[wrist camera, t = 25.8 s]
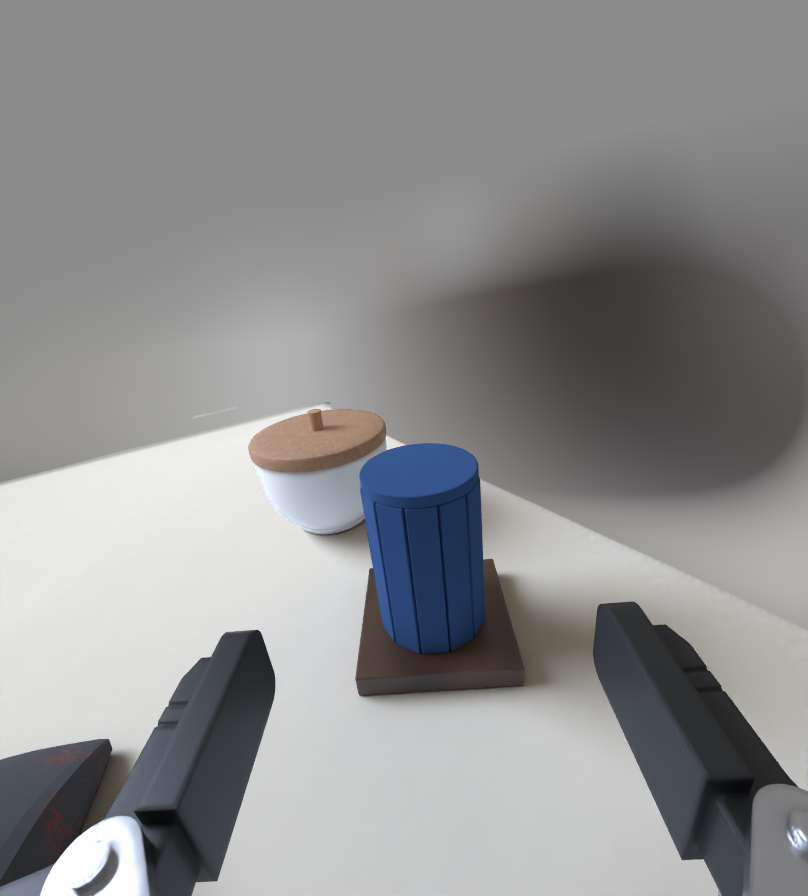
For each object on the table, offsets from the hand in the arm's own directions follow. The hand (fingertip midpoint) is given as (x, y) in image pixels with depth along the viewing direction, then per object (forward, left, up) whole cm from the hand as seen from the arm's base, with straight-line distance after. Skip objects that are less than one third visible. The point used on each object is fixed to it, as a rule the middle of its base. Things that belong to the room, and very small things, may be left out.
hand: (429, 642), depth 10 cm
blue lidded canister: (0, -10, -9) cm, 14 cm away
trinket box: (+8, -24, -11) cm, 27 cm away
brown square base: (0, -11, -11) cm, 15 cm away
